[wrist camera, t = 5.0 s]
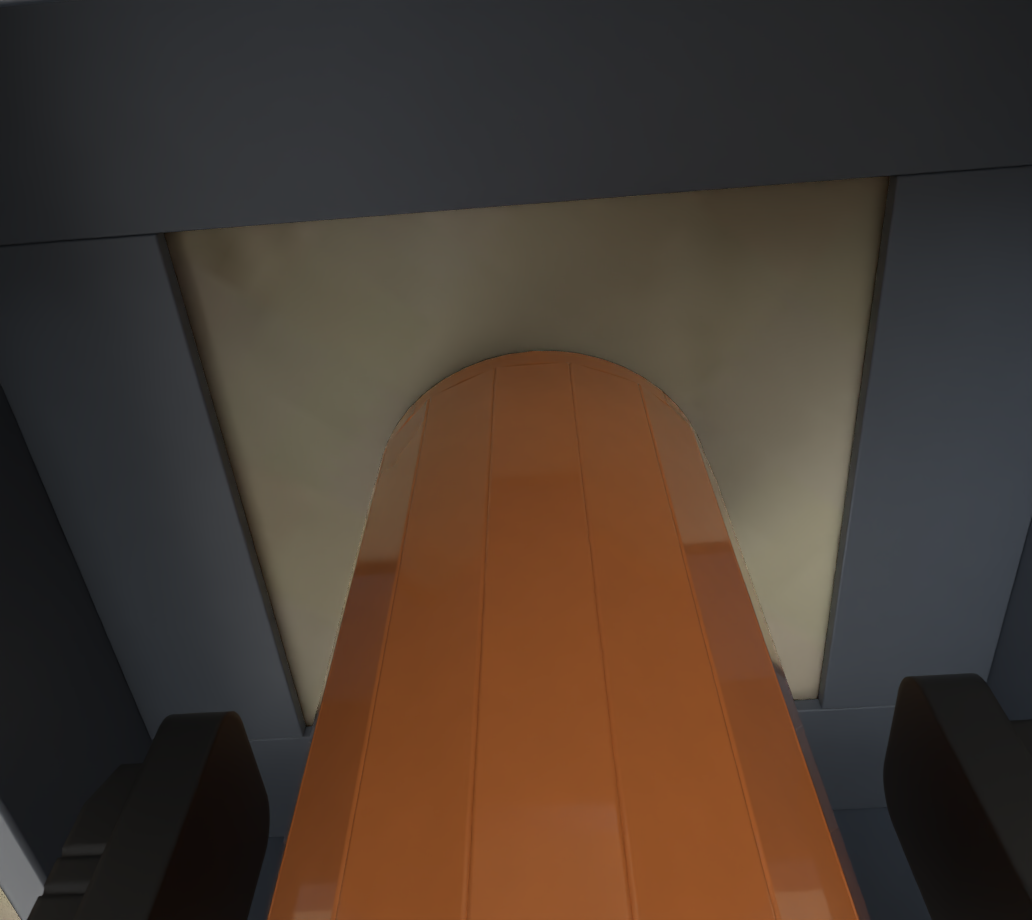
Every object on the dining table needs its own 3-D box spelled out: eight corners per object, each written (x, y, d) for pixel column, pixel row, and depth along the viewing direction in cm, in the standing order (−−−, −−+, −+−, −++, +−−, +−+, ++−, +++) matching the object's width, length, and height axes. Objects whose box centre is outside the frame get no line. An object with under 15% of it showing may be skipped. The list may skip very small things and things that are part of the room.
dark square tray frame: (171, 854, 20) (99, 1049, 16) (-240, -62, 11) (-599, -52, 7) (979, 814, 19) (1081, 1011, 16) (1284, -207, 10) (1690, -271, 6)
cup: (402, 634, 16) (301, 1267, 9) (350, 362, 14) (129, 948, 6) (704, 616, 16) (872, 1253, 8) (715, 336, 13) (987, 914, 6)
